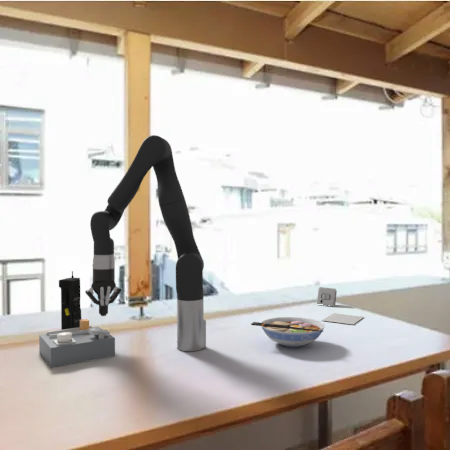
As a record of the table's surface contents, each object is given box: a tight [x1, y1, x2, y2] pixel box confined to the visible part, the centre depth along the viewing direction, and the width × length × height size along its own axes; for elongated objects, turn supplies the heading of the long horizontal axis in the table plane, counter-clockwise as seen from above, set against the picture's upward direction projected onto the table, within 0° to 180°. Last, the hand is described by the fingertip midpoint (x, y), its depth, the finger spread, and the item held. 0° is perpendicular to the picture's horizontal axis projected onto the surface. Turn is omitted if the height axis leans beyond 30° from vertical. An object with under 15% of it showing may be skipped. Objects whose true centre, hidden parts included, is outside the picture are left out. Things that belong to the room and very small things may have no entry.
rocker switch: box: [88, 328, 111, 336], centre depth 144 cm, size 6×4×1 cm, turn 123°
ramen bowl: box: [250, 316, 325, 348], centre depth 155 cm, size 25×23×8 cm
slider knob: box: [80, 318, 90, 330], centre depth 151 cm, size 2×3×4 cm
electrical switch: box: [316, 286, 338, 307], centre depth 225 cm, size 9×5×9 cm, turn 53°
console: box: [38, 325, 116, 369], centre depth 145 cm, size 20×18×8 cm
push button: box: [57, 332, 72, 342], centre depth 138 cm, size 4×4×2 cm
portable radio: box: [58, 271, 82, 330], centre depth 163 cm, size 8×6×25 cm
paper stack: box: [321, 312, 364, 325], centre depth 187 cm, size 23×25×1 cm
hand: (103, 315), depth 155 cm, fingers closed
